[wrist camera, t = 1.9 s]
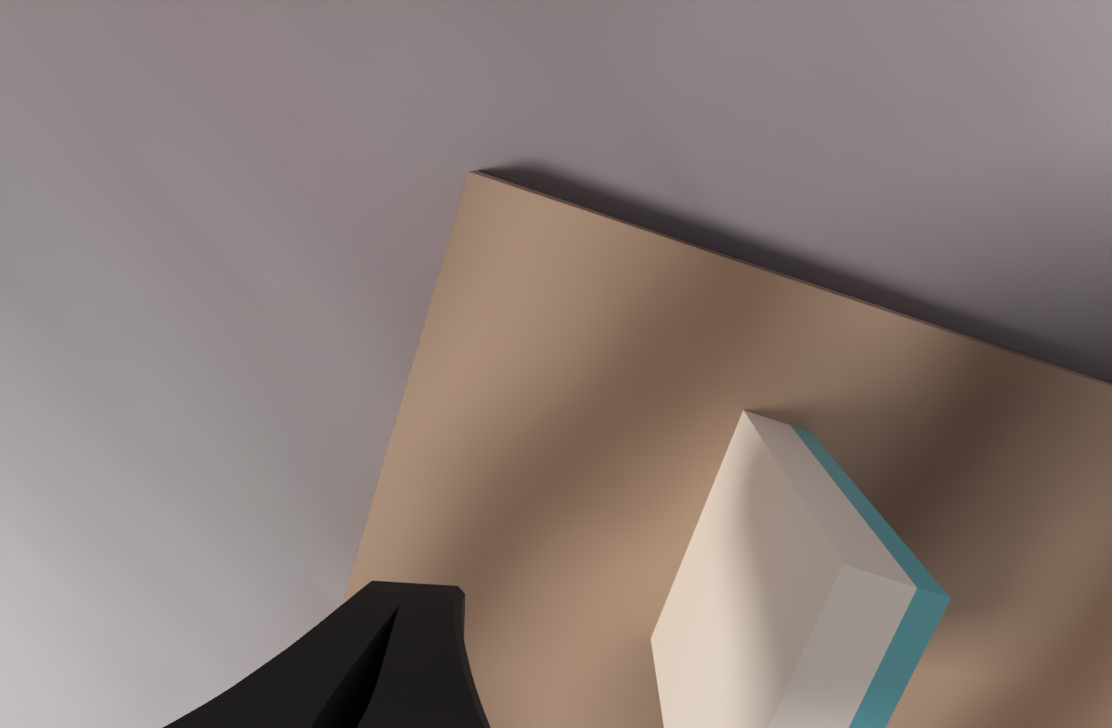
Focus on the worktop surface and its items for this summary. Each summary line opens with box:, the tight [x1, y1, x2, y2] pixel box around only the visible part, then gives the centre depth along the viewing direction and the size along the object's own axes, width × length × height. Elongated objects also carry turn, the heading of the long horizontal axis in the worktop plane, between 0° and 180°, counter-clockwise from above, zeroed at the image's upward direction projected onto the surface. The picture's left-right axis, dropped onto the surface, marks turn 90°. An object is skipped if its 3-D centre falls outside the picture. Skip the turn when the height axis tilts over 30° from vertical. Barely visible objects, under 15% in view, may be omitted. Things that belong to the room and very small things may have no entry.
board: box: [342, 170, 1112, 728], centre depth 20 cm, size 22×16×1 cm
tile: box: [651, 410, 951, 728], centre depth 15 cm, size 2×6×7 cm, turn 162°
